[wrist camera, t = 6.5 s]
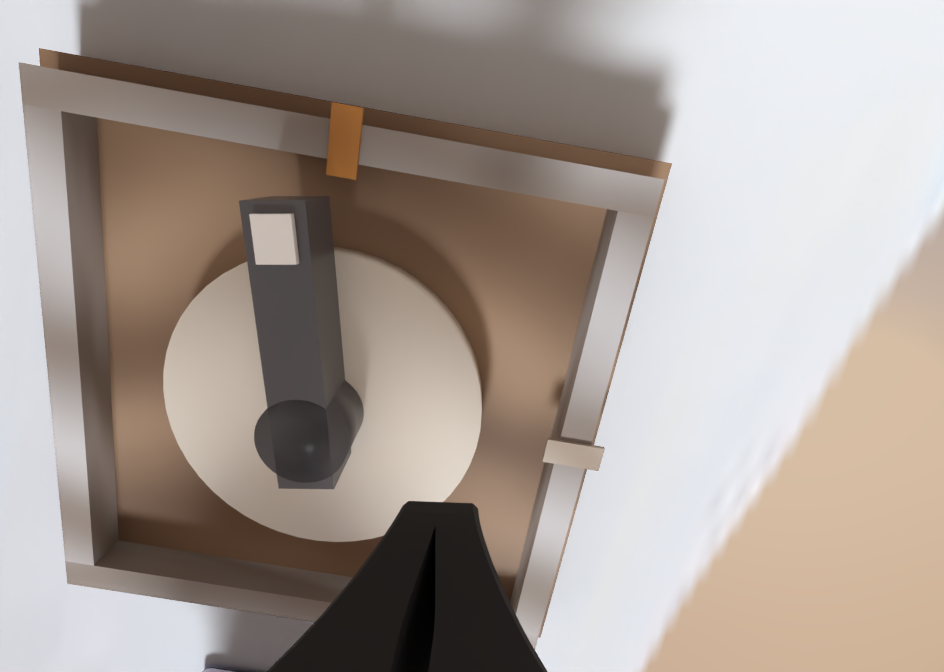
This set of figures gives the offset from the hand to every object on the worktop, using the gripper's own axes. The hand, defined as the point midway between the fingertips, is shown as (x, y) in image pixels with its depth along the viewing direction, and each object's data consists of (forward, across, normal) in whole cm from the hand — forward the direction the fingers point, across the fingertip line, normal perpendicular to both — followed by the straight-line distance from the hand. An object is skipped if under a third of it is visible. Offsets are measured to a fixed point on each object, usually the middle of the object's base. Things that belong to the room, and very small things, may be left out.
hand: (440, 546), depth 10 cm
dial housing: (+9, +4, 0) cm, 10 cm away
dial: (+7, +4, 0) cm, 9 cm away
